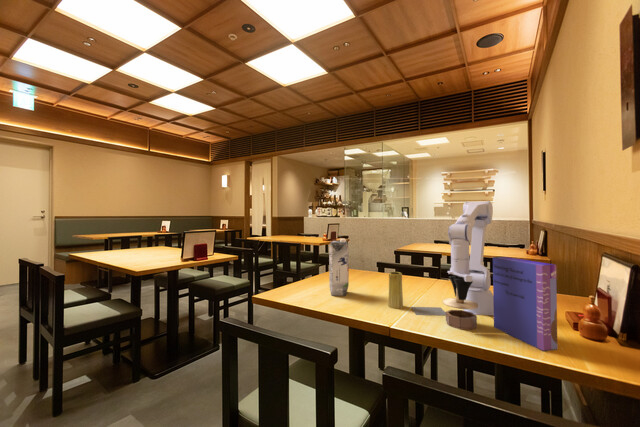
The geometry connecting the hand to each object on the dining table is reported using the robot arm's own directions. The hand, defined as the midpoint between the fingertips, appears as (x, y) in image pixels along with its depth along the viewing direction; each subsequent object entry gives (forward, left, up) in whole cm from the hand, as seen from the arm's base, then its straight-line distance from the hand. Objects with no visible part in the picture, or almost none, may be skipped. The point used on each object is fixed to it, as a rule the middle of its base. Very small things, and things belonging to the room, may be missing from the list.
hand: (460, 298), depth 100 cm
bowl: (0, 0, -9) cm, 9 cm away
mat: (+7, -14, -9) cm, 18 cm away
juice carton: (+43, -39, -10) cm, 59 cm away
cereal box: (-15, +9, -10) cm, 20 cm away
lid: (0, 0, -2) cm, 2 cm away
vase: (+19, -19, -10) cm, 29 cm away
